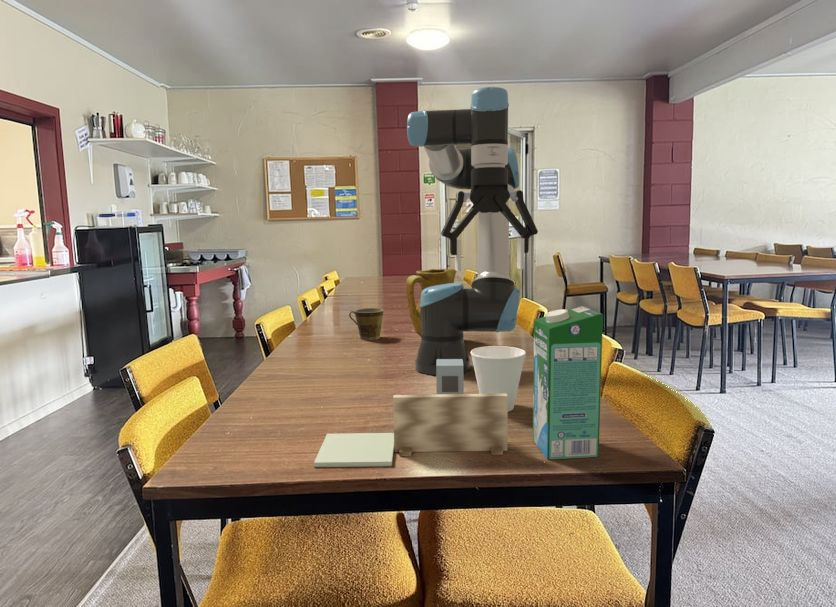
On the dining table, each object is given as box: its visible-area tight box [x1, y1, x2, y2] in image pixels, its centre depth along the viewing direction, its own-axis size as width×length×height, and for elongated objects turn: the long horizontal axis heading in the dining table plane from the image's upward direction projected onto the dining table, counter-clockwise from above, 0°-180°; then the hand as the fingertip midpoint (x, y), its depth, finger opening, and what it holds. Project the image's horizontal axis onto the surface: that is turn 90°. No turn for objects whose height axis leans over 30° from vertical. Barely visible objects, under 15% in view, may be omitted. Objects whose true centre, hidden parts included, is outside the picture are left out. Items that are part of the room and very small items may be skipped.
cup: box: [470, 345, 527, 412], centre depth 123 cm, size 12×12×12 cm
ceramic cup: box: [348, 307, 384, 341], centre depth 199 cm, size 13×10×10 cm
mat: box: [313, 432, 395, 468], centre depth 101 cm, size 13×13×1 cm
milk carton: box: [532, 305, 604, 460], centre depth 99 cm, size 9×9×25 cm
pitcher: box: [405, 268, 458, 337], centre depth 188 cm, size 17×19×25 cm
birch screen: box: [392, 393, 509, 457], centre depth 101 cm, size 20×5×10 cm, turn 89°
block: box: [435, 359, 465, 394], centre depth 108 cm, size 5×5×14 cm
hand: (489, 269), depth 121 cm, fingers open, 13 cm apart
